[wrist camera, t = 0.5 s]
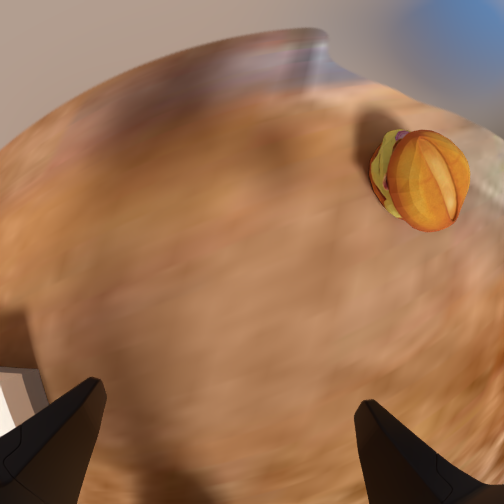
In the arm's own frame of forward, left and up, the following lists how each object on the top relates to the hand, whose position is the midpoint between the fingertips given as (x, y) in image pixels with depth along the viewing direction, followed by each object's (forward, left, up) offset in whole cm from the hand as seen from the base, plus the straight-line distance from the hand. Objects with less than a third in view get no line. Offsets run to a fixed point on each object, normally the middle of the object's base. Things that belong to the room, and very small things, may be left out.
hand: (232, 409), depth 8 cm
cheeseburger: (+11, -20, -15) cm, 27 cm away
